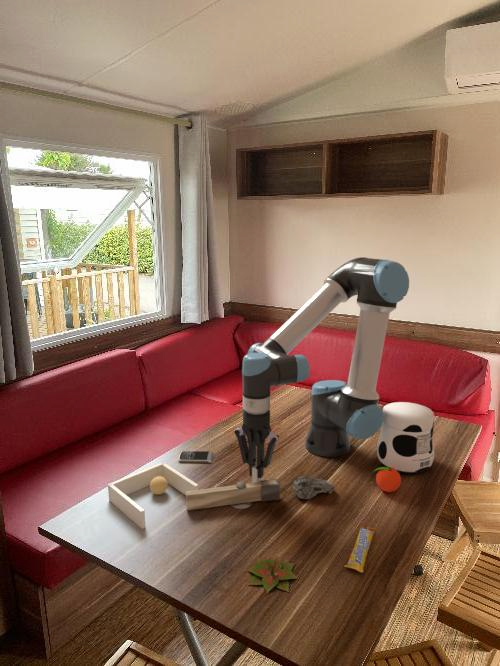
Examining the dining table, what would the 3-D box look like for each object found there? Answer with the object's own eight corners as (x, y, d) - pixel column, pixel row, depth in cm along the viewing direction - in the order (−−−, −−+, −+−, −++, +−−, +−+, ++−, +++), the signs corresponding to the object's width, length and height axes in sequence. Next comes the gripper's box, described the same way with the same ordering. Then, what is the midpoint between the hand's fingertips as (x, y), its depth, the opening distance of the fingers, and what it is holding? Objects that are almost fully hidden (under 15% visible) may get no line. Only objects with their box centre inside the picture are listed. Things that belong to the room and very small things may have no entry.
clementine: (370, 493, 139) (371, 471, 138) (373, 481, 146) (374, 459, 144) (399, 499, 137) (401, 476, 135) (401, 486, 143) (402, 464, 141)
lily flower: (302, 562, 113) (303, 545, 112) (295, 601, 102) (295, 582, 100) (252, 554, 116) (252, 537, 115) (239, 591, 104) (238, 573, 103)
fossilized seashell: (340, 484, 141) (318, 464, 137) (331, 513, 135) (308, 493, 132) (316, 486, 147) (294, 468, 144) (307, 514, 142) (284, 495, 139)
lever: (279, 499, 136) (279, 482, 135) (187, 511, 130) (186, 494, 129) (276, 492, 139) (276, 476, 138) (186, 504, 133) (185, 487, 132)
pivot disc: (254, 498, 137) (254, 497, 137) (248, 510, 132) (248, 509, 132) (234, 495, 139) (234, 494, 139) (227, 507, 133) (227, 506, 133)
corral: (198, 500, 136) (198, 484, 135) (142, 528, 124) (140, 511, 123) (163, 477, 149) (162, 462, 148) (109, 500, 137) (107, 484, 136)
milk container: (381, 447, 167) (385, 397, 162) (435, 457, 159) (440, 406, 155) (370, 470, 152) (373, 416, 147) (429, 483, 144) (434, 427, 140)
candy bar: (359, 528, 125) (359, 522, 124) (376, 533, 123) (376, 526, 122) (343, 572, 110) (343, 565, 109) (362, 577, 108) (362, 570, 108)
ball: (169, 473, 141) (158, 476, 144) (155, 476, 137) (144, 479, 140) (172, 491, 139) (161, 494, 142) (158, 494, 135) (148, 497, 138)
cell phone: (180, 454, 163) (180, 450, 163) (213, 455, 163) (213, 451, 163) (177, 464, 157) (177, 460, 157) (212, 464, 157) (212, 460, 157)
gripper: (228, 410, 133) (230, 487, 139) (272, 418, 128) (272, 499, 134) (241, 400, 140) (242, 475, 146) (283, 408, 134) (282, 485, 140)
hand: (256, 486), depth 140 cm, fingers closed
